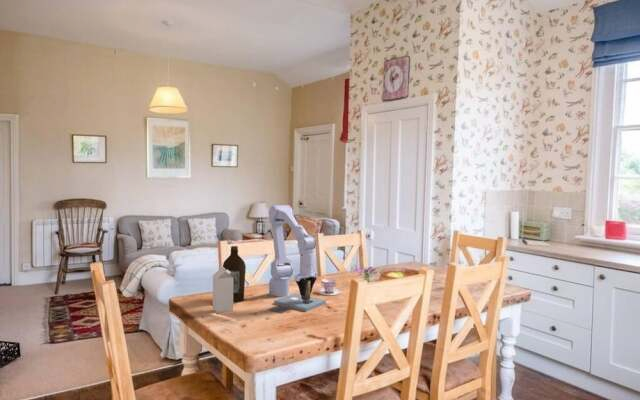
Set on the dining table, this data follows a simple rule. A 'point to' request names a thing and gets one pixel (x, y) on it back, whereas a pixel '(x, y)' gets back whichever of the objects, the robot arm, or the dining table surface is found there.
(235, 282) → the olive oil
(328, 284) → the teacup
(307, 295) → the walnut peg
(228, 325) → the dining table surface
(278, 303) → the hole plate
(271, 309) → the pad
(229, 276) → the milk carton
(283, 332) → the dining table surface
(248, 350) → the dining table surface
